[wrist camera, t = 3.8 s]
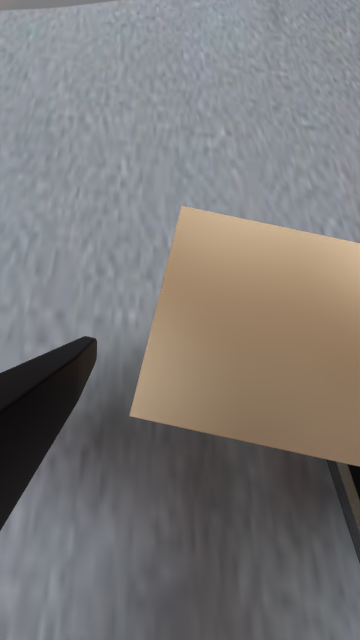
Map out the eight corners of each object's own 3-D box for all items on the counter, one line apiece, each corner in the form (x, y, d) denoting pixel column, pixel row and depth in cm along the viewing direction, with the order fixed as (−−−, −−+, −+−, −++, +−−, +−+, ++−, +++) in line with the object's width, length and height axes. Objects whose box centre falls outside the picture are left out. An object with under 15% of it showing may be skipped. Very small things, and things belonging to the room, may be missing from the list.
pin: (222, 413, 17) (382, 471, 4) (156, 399, 17) (128, 416, 4) (232, 348, 18) (380, 247, 6) (171, 335, 18) (181, 205, 6)
